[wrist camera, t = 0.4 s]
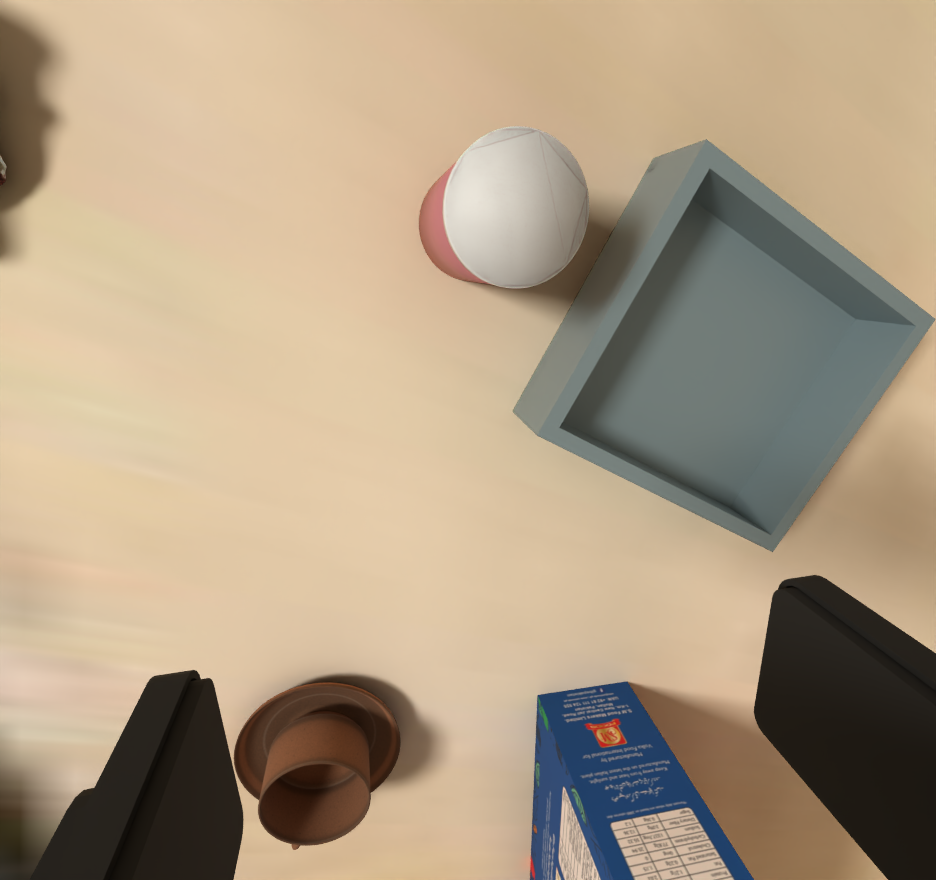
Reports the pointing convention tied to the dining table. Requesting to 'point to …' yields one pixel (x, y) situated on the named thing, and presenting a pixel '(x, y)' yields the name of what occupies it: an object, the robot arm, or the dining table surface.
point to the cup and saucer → (316, 760)
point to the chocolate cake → (2, 171)
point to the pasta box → (617, 797)
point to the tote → (720, 348)
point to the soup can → (507, 210)
